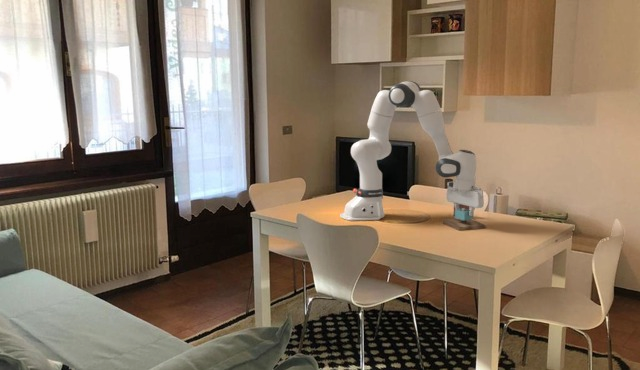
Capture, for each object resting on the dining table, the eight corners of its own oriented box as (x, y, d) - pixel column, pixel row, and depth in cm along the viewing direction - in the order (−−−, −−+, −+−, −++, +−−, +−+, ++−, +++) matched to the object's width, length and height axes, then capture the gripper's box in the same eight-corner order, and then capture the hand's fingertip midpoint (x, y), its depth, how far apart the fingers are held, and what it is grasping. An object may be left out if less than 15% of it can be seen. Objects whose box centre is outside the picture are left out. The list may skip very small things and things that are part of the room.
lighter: (470, 216, 282) (470, 197, 280) (468, 218, 279) (469, 198, 277) (453, 215, 285) (454, 196, 283) (452, 216, 282) (453, 197, 280)
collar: (464, 220, 259) (464, 212, 259) (454, 218, 264) (454, 209, 264) (473, 218, 263) (473, 210, 262) (463, 216, 267) (464, 208, 267)
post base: (459, 230, 255) (459, 212, 254) (442, 223, 268) (443, 206, 267) (485, 227, 260) (486, 209, 258) (468, 221, 273) (468, 204, 271)
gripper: (487, 187, 254) (486, 217, 256) (454, 181, 271) (453, 209, 273) (478, 189, 250) (476, 219, 253) (444, 182, 267) (443, 210, 270)
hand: (464, 214), depth 263 cm, fingers closed on collar, 6 cm apart
